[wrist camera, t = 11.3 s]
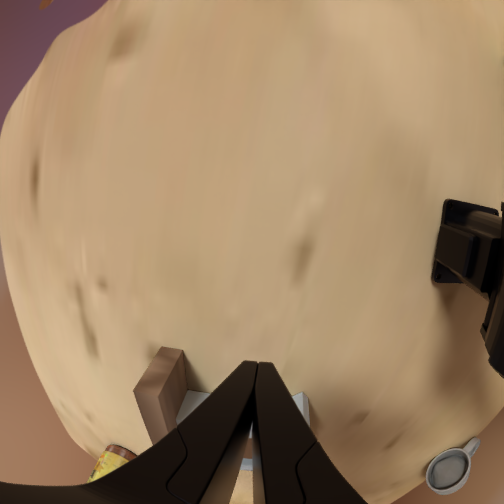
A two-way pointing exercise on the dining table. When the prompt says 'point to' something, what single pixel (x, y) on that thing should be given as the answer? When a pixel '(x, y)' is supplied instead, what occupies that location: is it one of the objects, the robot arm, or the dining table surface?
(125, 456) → the sauce bottle
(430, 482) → the ceramic mug
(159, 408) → the backstop
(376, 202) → the dining table surface
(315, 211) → the dining table surface
